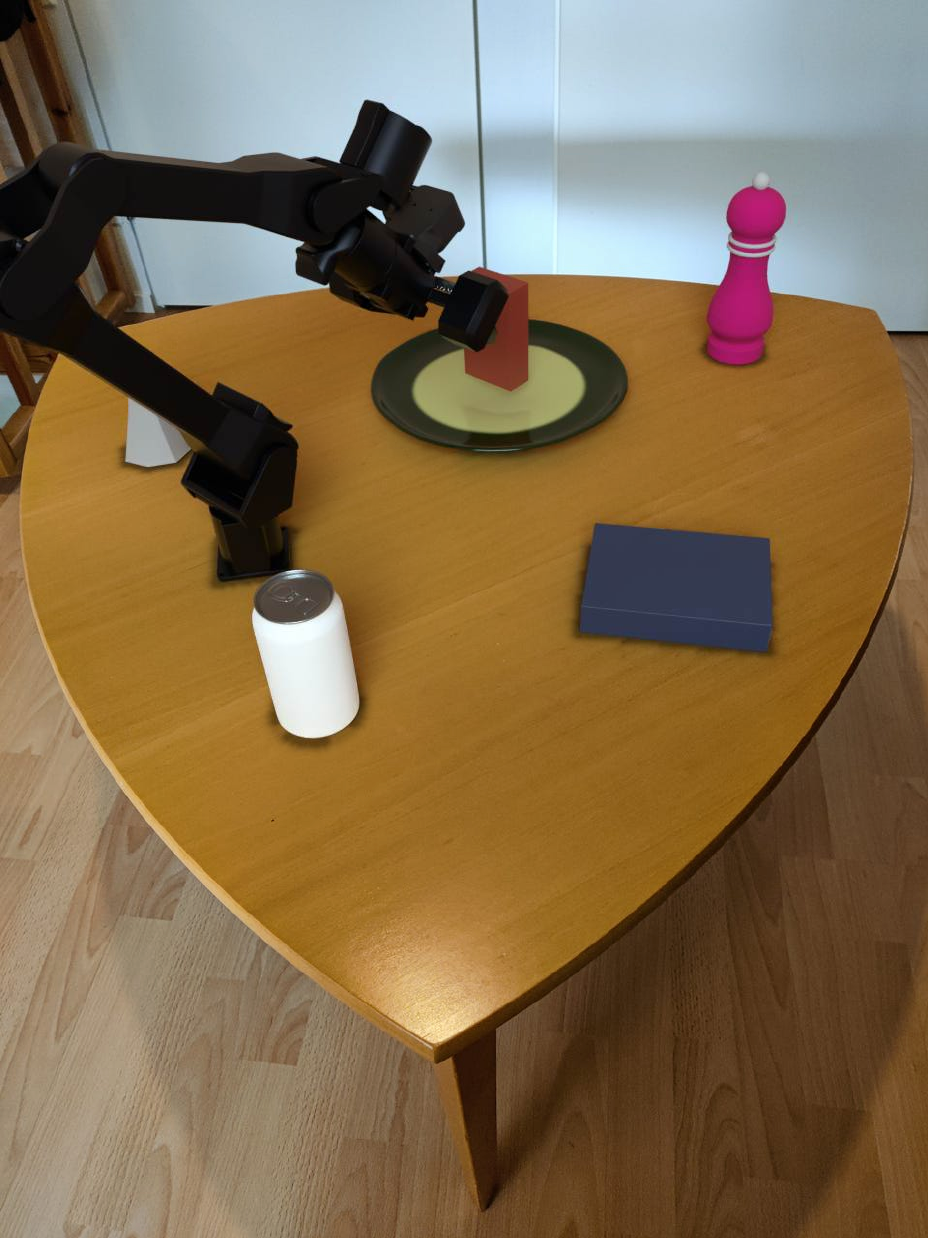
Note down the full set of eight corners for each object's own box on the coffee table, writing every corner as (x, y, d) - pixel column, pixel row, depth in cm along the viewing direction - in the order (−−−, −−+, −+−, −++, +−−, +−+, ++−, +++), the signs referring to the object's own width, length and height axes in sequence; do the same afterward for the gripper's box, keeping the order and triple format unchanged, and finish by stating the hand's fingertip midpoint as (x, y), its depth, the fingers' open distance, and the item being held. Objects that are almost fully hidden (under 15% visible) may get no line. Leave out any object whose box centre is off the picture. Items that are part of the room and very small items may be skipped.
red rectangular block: (510, 391, 106) (509, 293, 98) (465, 373, 109) (460, 276, 101) (528, 380, 107) (528, 282, 100) (482, 362, 110) (479, 266, 103)
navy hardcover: (579, 632, 82) (580, 606, 80) (593, 548, 90) (594, 522, 88) (767, 652, 80) (773, 625, 78) (764, 564, 88) (770, 537, 86)
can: (319, 667, 81) (295, 553, 73) (377, 703, 78) (359, 588, 69) (260, 715, 77) (227, 601, 69) (318, 755, 74) (292, 641, 66)
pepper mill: (689, 345, 116) (711, 167, 102) (741, 331, 118) (769, 154, 104) (726, 373, 111) (755, 190, 97) (779, 357, 113) (814, 176, 99)
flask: (202, 431, 107) (180, 346, 101) (182, 470, 102) (157, 383, 95) (138, 430, 108) (111, 345, 101) (114, 468, 103) (85, 382, 96)
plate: (337, 454, 103) (334, 434, 101) (411, 327, 122) (409, 308, 121) (608, 482, 97) (609, 461, 96) (640, 344, 117) (642, 324, 115)
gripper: (492, 190, 81) (570, 274, 94) (334, 146, 90) (425, 228, 103) (433, 317, 82) (518, 382, 95) (283, 261, 91) (379, 327, 104)
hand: (459, 325), depth 99 cm, fingers open, 9 cm apart
